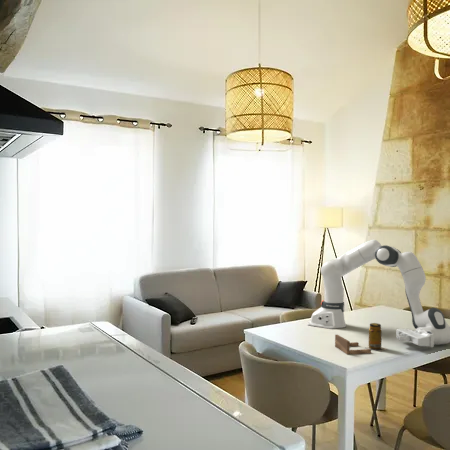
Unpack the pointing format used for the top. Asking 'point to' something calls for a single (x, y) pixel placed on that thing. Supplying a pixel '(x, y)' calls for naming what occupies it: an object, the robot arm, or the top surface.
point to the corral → (348, 346)
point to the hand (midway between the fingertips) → (398, 337)
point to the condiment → (375, 337)
